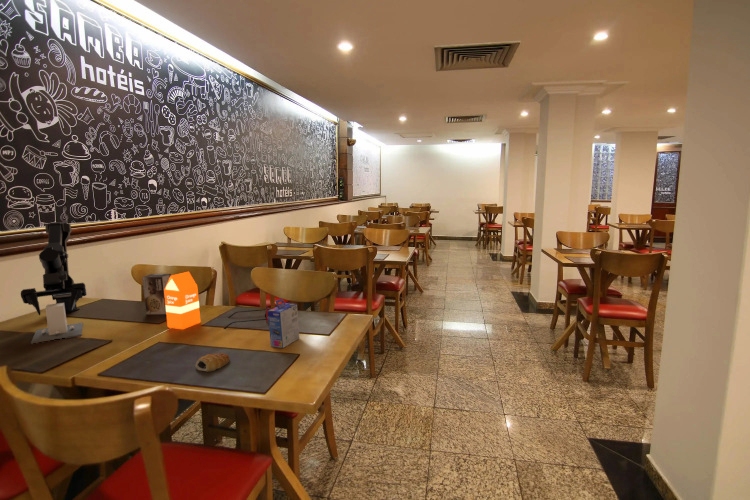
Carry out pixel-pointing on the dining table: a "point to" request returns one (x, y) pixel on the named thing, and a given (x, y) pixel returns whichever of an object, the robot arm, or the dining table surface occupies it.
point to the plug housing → (56, 318)
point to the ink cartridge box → (283, 324)
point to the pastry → (212, 362)
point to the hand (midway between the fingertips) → (55, 312)
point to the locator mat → (70, 333)
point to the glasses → (251, 320)
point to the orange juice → (182, 301)
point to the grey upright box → (155, 292)
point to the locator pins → (57, 331)
